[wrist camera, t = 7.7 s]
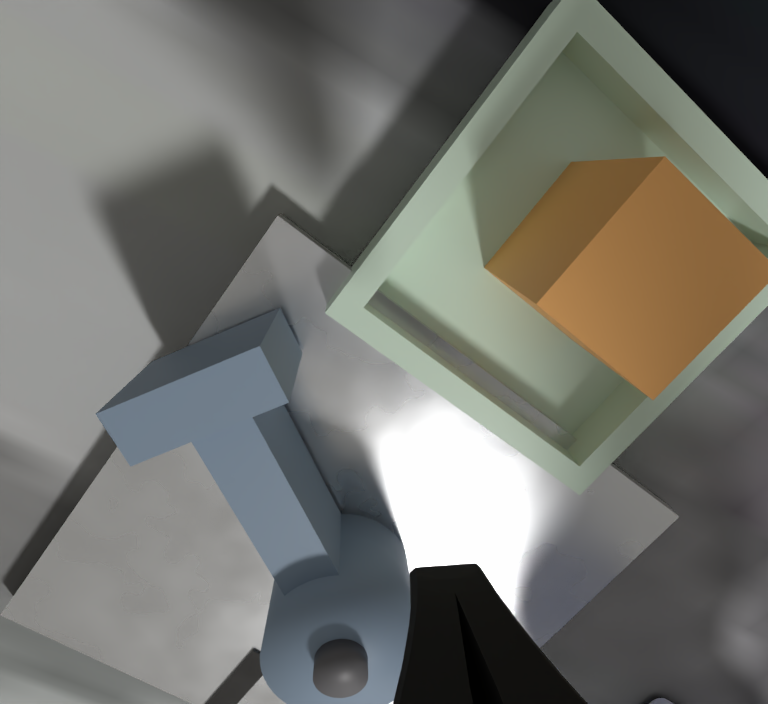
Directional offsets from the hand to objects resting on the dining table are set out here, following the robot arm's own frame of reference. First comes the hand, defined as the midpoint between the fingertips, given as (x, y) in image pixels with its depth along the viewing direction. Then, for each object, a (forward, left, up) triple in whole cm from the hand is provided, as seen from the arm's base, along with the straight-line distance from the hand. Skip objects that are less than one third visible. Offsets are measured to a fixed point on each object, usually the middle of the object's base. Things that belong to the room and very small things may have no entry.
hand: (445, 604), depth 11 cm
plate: (-2, +6, -9) cm, 10 cm away
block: (-1, -8, -8) cm, 11 cm away
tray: (-1, -7, -9) cm, 11 cm away
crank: (+2, +4, -8) cm, 9 cm away
